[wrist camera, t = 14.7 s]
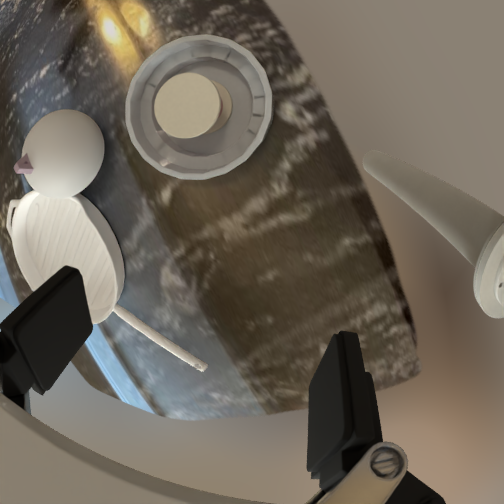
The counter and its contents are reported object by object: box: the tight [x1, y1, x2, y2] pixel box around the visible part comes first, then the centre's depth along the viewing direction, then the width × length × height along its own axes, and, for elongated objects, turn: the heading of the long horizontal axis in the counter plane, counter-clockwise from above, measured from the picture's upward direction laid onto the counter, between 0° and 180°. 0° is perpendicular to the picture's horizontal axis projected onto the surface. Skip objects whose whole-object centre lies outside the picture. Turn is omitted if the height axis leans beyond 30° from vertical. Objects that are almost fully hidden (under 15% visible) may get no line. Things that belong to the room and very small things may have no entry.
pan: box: [7, 190, 208, 371], centre depth 38 cm, size 24×41×4 cm, turn 52°
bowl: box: [126, 34, 274, 180], centre depth 25 cm, size 14×14×5 cm
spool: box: [154, 73, 233, 138], centre depth 24 cm, size 6×6×6 cm
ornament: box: [14, 109, 104, 199], centre depth 25 cm, size 10×10×12 cm
